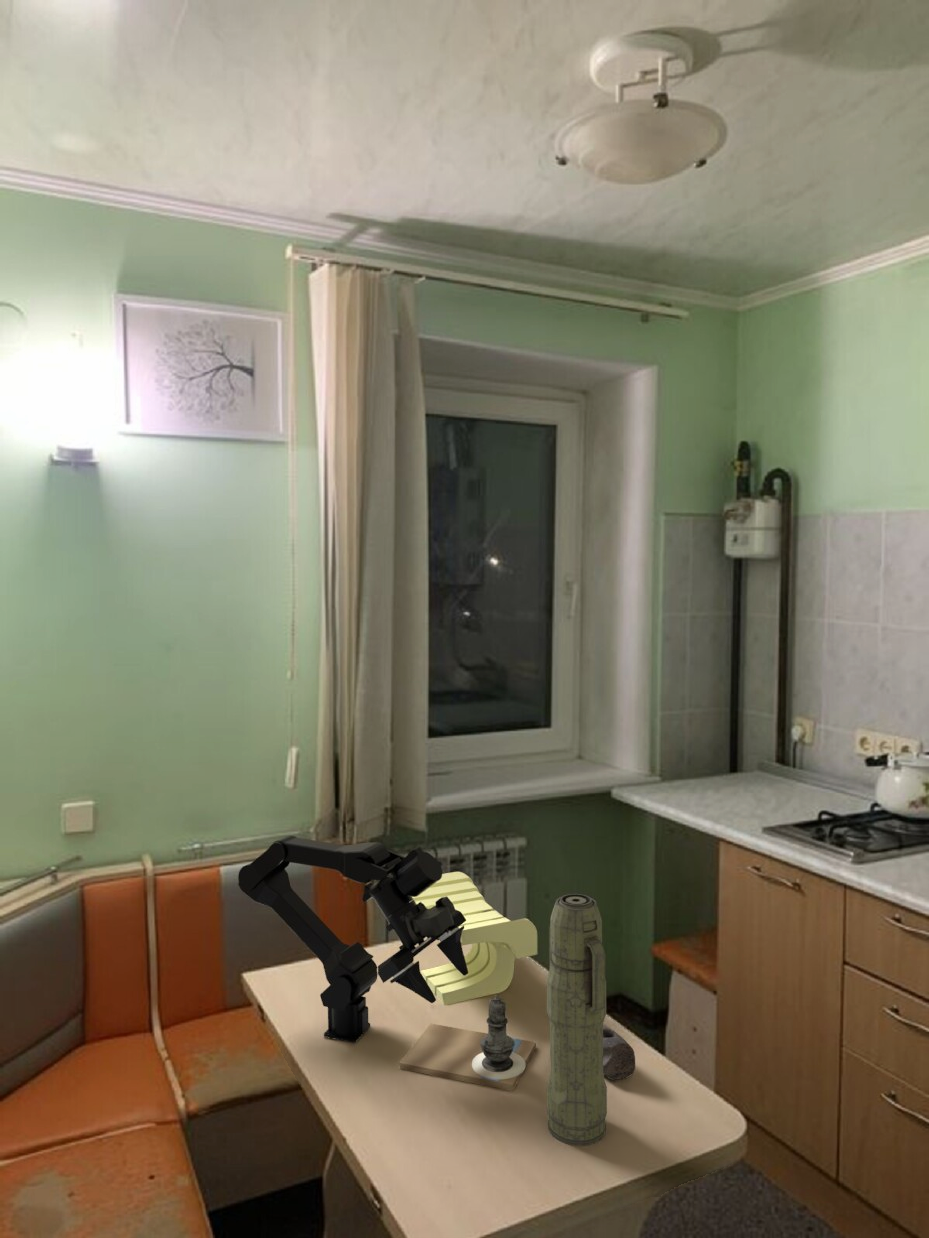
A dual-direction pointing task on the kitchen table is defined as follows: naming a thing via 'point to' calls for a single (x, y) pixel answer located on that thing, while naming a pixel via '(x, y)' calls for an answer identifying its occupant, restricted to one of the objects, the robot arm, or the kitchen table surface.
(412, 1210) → the kitchen table surface
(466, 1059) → the board
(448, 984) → the slatted curved stool
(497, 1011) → the dark grey chess piece
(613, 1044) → the perforated stone tool
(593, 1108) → the thermos
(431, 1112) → the kitchen table surface
